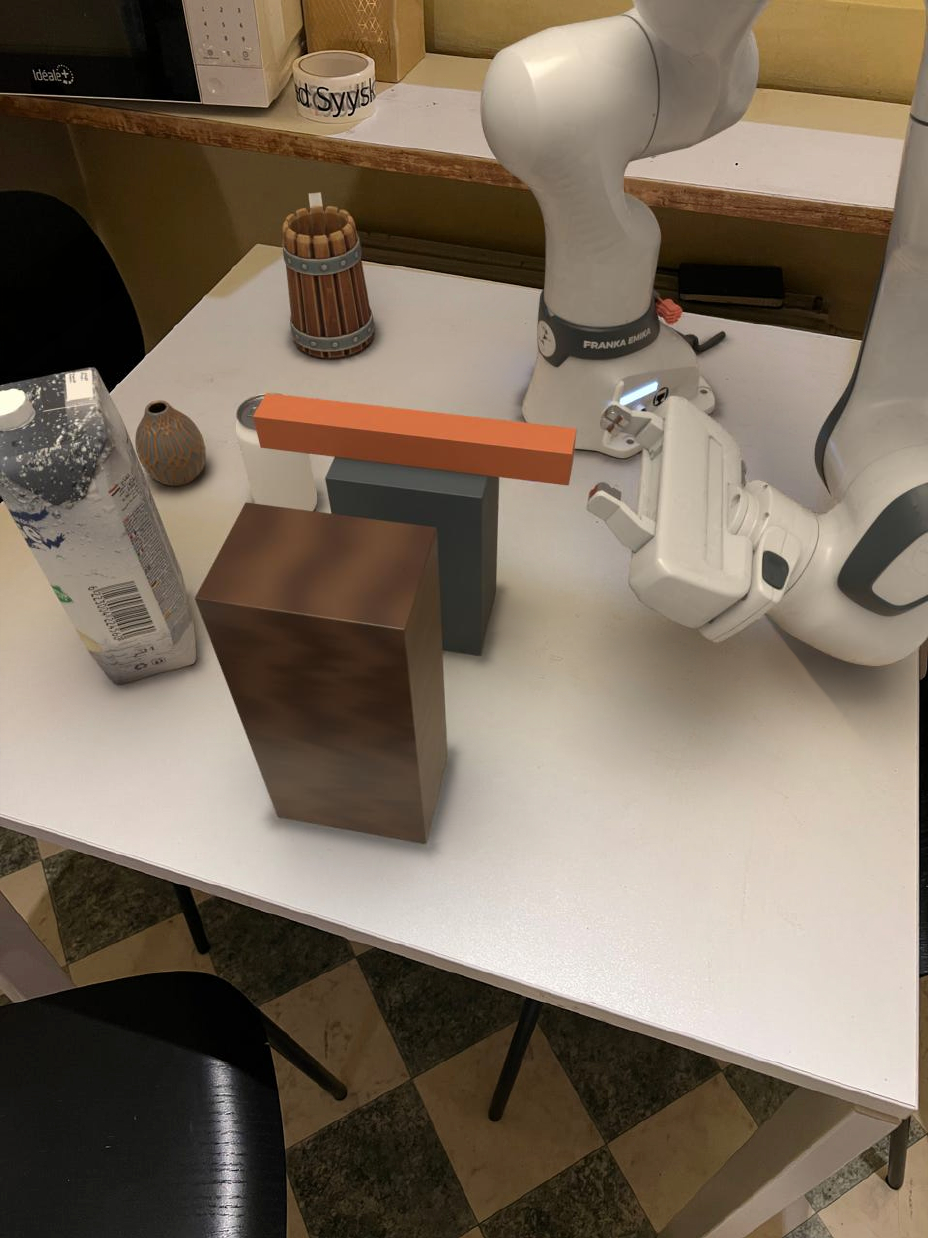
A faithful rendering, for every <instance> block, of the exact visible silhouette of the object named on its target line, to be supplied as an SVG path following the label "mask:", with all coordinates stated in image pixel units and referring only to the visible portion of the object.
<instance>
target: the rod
mask: <svg viewBox="0 0 928 1238" xmlns="http://www.w3.org/2000/svg"><path fill="white" fill-rule="evenodd" d="M265 393H266V395H265V396H264V398H263V400H262V401H261V403H260V405H259V407H258V408H257V410H256V412H255V414H254V415H253V419H254V423H255V427H256V431H257V435H258V439H259V443H260V447H261V448H267V449H275V450H283V451H291V452H299V453H307V454H310V455H315V456H325V457H332V458H334V457H340V458H348V459H356V460H364V461H372V462H381V463H389V464H397V465H405V466H413V467H421V468H429V469H437V470H446V471H454V472H462V473H470V474H478V475H486V476H494V477H499V478H503V479H504V478H505V479H511V480H518V481H519V480H520V481H528V482H537V483H543V484H544V483H545V484H553V485H559V486H570V480H571V474H572V470H573V464H574V457H575V450H576V449H575V440H576V431H577V429H576V428H568V427H559V426H551V425H542V424H533V423H527V422H523V421H517V420H516V421H514V420H508V419H507V420H505V419H499V418H498V419H496V418H490V417H480V416H472V415H471V416H470V415H464V414H463V415H462V414H453V413H444V412H436V411H428V410H419V409H418V410H417V409H409V408H402V407H401V408H400V407H392V406H385V405H384V406H383V405H375V404H367V403H366V404H365V403H357V402H348V401H340V400H330V399H322V398H314V397H304V396H295V395H288V394H282V395H279V394H280V393H277V394H270V393H271V392H265Z"/></svg>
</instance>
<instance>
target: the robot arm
mask: <svg viewBox="0 0 928 1238" xmlns="http://www.w3.org/2000/svg"><path fill="white" fill-rule="evenodd" d="M631 1H632V4H633V6H634V7H632V8H630V9H628V10H627V11H624V12H622V13H619V14H616V15H612V16H607V17H601V18H596V19H591V20H585V21H579V22H573V23H569V24H563V25H557V26H551V27H548V28H545V29H543V30H541V31H539V32H535V33H533V34H531V35H529V36H527V37H525V38H522V39H520V40H519V41H516V42H515V43H512V44H510V45H508V46H506V47H504V48H502V49H501V50H499V51H498V52H497V53H496V54H495V56H494V57H493V58H492V60H491V63H490V64H489V67H488V68H487V70H486V71H487V72H486V74H485V77H484V80H483V84H482V88H481V93H480V105H479V109H480V111H479V113H480V122H481V128H482V132H483V135H484V138H485V141H486V143H487V146H488V147H489V149H490V151H491V153H492V154H493V156H494V157H495V159H496V161H497V162H498V163H499V164H500V165H501V166H502V168H504V170H506V171H507V172H508V173H509V174H510V175H512V176H514V177H515V178H517V179H518V180H520V181H521V182H522V183H523V184H524V185H526V187H527V188H528V189H529V190H530V192H531V193H532V195H533V196H534V198H535V201H537V204H538V207H539V209H540V212H541V215H542V219H543V224H544V236H545V266H544V267H545V268H544V286H543V287H544V288H542V290H541V292H540V295H539V302H538V311H537V325H536V326H537V327H536V342H537V353H536V359H535V363H534V369H533V372H532V376H531V379H530V383H529V385H528V389H527V391H526V394H525V395H524V397H523V401H522V406H521V412H522V416H523V419H524V421H525V423H533V424H542V425H551V426H559V427H568V428H576V429H577V431H576V440H575V449H574V450H584V451H594V452H595V451H596V452H599V453H601V454H605V455H607V456H610V457H614V458H618V459H628V458H630V457H633V456H634V455H636V454H638V453H640V452H641V460H640V469H639V470H640V471H639V478H638V479H639V480H638V487H637V496H636V497H637V499H636V506H635V507H636V508H635V512H634V511H633V510H632V509H631V508H630V507H629V505H627V504H626V503H625V502H624V501H623V500H622V491H620V490H619V489H617V488H616V487H611V485H610V484H609V483H608V482H604V481H600V482H598V483H596V484H595V485H594V487H593V488H592V489H591V490H589V492H588V497H587V501H586V511H587V512H588V513H591V514H592V515H594V516H596V517H598V518H599V519H601V520H602V521H604V523H605V525H606V526H607V527H608V529H609V531H610V532H612V534H613V535H614V536H615V538H616V539H617V541H618V542H619V543H620V545H622V546H623V547H625V548H627V549H629V550H630V551H631V553H630V565H629V572H628V573H629V574H628V586H629V588H630V590H631V591H632V593H633V594H634V595H635V597H636V598H637V600H638V601H639V602H641V603H642V604H643V605H645V606H646V607H647V608H649V609H650V610H652V611H654V612H656V613H658V614H660V615H661V616H663V617H665V618H667V619H668V620H671V621H673V622H674V623H677V624H679V625H681V626H683V627H686V628H689V629H698V631H699V633H700V634H701V635H702V636H703V637H704V638H706V639H707V640H709V641H711V642H713V643H715V644H720V643H721V642H723V641H726V640H727V639H729V638H731V637H733V636H734V635H737V634H738V633H739V632H741V631H742V630H744V629H746V628H747V627H749V626H751V625H752V624H753V623H755V622H756V621H758V620H759V619H761V618H762V617H764V615H766V616H768V617H770V619H772V620H773V621H774V623H776V625H777V626H778V627H779V628H780V629H781V630H783V631H784V632H785V633H787V634H789V635H790V636H792V637H794V638H796V639H798V640H799V641H801V642H803V643H805V644H806V645H808V646H810V647H812V648H814V649H816V650H818V651H820V652H822V653H824V654H826V655H829V656H831V657H833V658H836V659H838V660H841V661H844V662H848V663H851V664H856V665H860V666H869V667H880V666H887V665H891V664H895V663H897V662H899V661H901V660H903V659H905V658H907V657H908V656H910V655H911V654H913V653H914V652H915V651H917V650H918V649H919V647H920V646H922V645H923V644H924V642H925V641H926V640H927V639H928V0H923V3H924V9H925V31H924V39H923V40H924V41H923V46H922V47H923V48H922V53H921V59H920V63H919V67H918V72H917V77H916V81H915V86H914V91H913V96H912V99H911V104H910V109H909V110H910V111H909V114H908V120H907V124H906V130H905V133H904V134H905V135H904V141H903V146H902V151H901V159H900V165H899V171H898V177H897V184H896V190H895V197H894V206H893V213H892V219H891V222H890V223H891V224H890V227H889V233H888V239H887V243H886V248H885V251H884V255H883V258H882V262H881V265H880V268H879V271H878V276H877V279H876V283H875V287H874V291H873V294H872V295H873V296H872V299H871V303H870V306H869V311H868V315H867V319H866V323H865V327H864V331H863V334H862V338H861V343H860V345H859V350H858V354H857V358H856V362H855V364H854V369H853V371H852V374H851V377H850V379H849V382H848V384H847V385H846V387H845V389H844V391H843V392H842V394H841V396H840V397H839V399H838V401H837V402H836V403H835V405H834V406H833V408H832V410H831V411H830V412H829V414H828V415H827V417H826V419H825V421H824V422H823V423H822V426H821V428H820V430H819V432H818V434H817V436H816V440H815V445H814V452H813V453H814V454H813V455H814V457H813V458H814V465H815V468H816V471H817V474H818V476H819V478H820V480H821V482H822V483H823V485H824V487H825V489H826V490H827V492H828V494H829V495H830V497H831V498H832V501H833V504H834V506H833V507H832V508H831V509H830V510H829V511H828V512H825V513H822V514H819V513H815V512H813V511H811V510H809V509H808V508H806V507H805V506H803V505H801V504H800V503H798V502H797V501H796V500H794V499H792V498H791V497H789V496H787V495H786V494H785V493H783V492H782V491H780V490H779V489H777V488H775V487H774V486H772V485H771V484H769V483H767V482H766V481H764V480H759V479H757V480H750V481H747V479H746V475H747V471H748V470H747V464H746V462H745V460H743V459H742V451H741V448H740V447H741V446H740V444H739V443H738V441H737V440H736V439H735V437H734V436H733V435H732V434H731V433H730V432H729V431H728V429H726V428H725V427H724V426H723V425H721V424H720V423H719V422H718V421H716V420H715V419H714V418H713V417H711V416H710V415H711V414H712V413H713V412H714V411H715V408H716V399H715V395H714V392H713V389H712V388H711V386H710V385H709V384H708V382H707V381H706V380H705V379H704V377H703V376H702V375H700V362H699V359H698V356H697V354H696V353H703V352H706V351H707V350H709V349H711V348H712V347H714V346H715V345H716V344H717V343H719V342H721V341H722V340H723V339H725V338H726V337H727V333H726V332H725V331H724V330H721V331H720V332H718V333H716V334H715V335H714V336H711V338H709V339H708V340H706V341H705V342H703V343H701V344H699V343H700V341H699V337H698V336H697V335H695V334H692V333H689V334H684V333H682V332H680V331H679V330H676V329H675V328H673V327H671V326H669V325H674V324H677V323H678V322H679V320H680V319H681V318H682V315H683V308H682V307H681V306H680V305H679V304H676V303H674V301H673V300H672V299H671V298H666V299H664V300H663V299H662V298H660V297H661V294H660V293H659V292H658V291H657V290H655V289H654V286H655V285H654V284H655V279H656V272H657V267H658V263H659V255H660V250H661V243H662V233H661V229H660V225H659V222H658V220H657V218H656V216H655V214H654V212H653V211H652V210H651V208H650V207H649V206H648V205H647V204H646V203H645V202H643V201H642V200H640V199H639V198H637V197H636V196H634V195H632V194H630V193H628V192H625V190H624V189H625V188H624V187H625V185H624V180H625V175H626V170H627V168H628V165H629V164H630V163H632V162H634V161H639V160H642V159H643V160H644V159H647V158H652V157H656V156H660V155H665V154H669V153H672V152H673V153H674V152H677V151H681V150H685V149H689V148H692V147H694V146H696V145H698V144H701V143H703V142H704V141H707V140H709V139H711V138H713V137H715V136H717V135H719V134H720V133H722V132H724V131H726V130H727V129H730V128H731V127H733V126H735V125H736V124H737V123H738V122H740V120H742V118H743V117H744V115H745V114H746V112H747V111H748V109H749V107H750V105H751V102H752V100H753V98H754V95H755V93H756V90H757V85H758V80H759V73H760V72H759V71H760V55H759V54H760V53H759V47H758V42H757V39H756V35H755V33H754V31H753V29H754V27H755V25H756V24H757V22H758V20H759V18H760V17H761V16H762V14H764V11H765V10H766V9H767V7H768V6H769V4H770V3H771V2H772V0H631ZM660 318H662V319H663V320H664V321H665V322H663V321H661V320H660Z"/></svg>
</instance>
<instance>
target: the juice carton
mask: <svg viewBox="0 0 928 1238" xmlns="http://www.w3.org/2000/svg"><path fill="white" fill-rule="evenodd" d="M0 497H1V499H2V501H3V503H4V504H5V506H6V509H7V510H8V512H9V514H10V516H11V518H12V519H13V521H14V523H15V525H16V526H17V528H18V530H19V532H20V534H21V535H22V537H23V539H24V541H25V542H26V544H27V546H28V548H29V549H30V551H31V553H32V555H33V557H34V558H35V560H36V562H37V564H38V565H39V567H40V569H41V570H42V573H43V574H44V576H45V578H46V580H47V581H48V583H49V585H50V586H51V588H52V591H53V592H54V594H55V596H56V597H57V599H58V601H59V602H60V604H61V606H62V609H64V612H65V613H66V615H67V617H68V619H69V620H70V622H71V624H72V625H73V627H74V629H75V631H76V633H77V634H78V636H79V639H80V640H81V641H82V643H83V644H84V646H85V648H86V650H87V651H88V653H89V654H90V656H91V657H92V659H93V660H94V661H95V663H96V664H97V665H98V666H99V668H100V669H101V670H102V672H103V673H104V674H105V675H106V676H107V677H108V679H109V680H110V681H111V682H112V683H113V684H115V685H124V684H128V683H132V682H135V681H138V680H141V679H144V678H148V677H151V676H154V675H158V674H161V673H165V672H169V671H173V670H177V669H181V668H184V667H188V666H191V665H193V664H195V663H196V661H197V645H196V633H195V625H194V620H193V617H192V613H191V609H190V606H189V603H188V599H187V590H186V583H185V579H184V576H183V573H182V570H181V568H180V567H181V566H180V564H179V562H178V559H177V557H176V553H175V551H174V547H173V546H172V543H171V541H170V539H169V536H168V533H167V530H166V527H165V524H164V522H163V520H162V517H161V515H160V512H159V509H158V507H157V504H156V502H155V499H154V497H153V494H152V492H151V488H150V486H149V484H148V481H147V479H146V476H145V473H144V471H143V467H142V464H141V462H140V460H139V458H138V455H137V452H136V449H135V447H134V444H133V442H132V440H131V437H130V434H129V432H128V430H127V427H126V425H125V423H124V419H123V418H122V416H121V414H120V412H119V409H118V408H117V406H116V404H115V402H114V400H113V398H112V397H111V394H110V392H109V390H108V388H107V387H106V385H105V382H104V381H103V379H102V377H101V375H100V373H99V371H98V370H97V369H96V367H92V366H91V367H84V368H79V369H74V370H68V371H65V372H60V373H59V372H58V373H53V374H49V375H45V376H40V377H35V378H29V379H25V380H20V381H14V382H10V383H6V384H1V385H0Z"/></svg>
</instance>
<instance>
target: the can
mask: <svg viewBox="0 0 928 1238" xmlns="http://www.w3.org/2000/svg"><path fill="white" fill-rule="evenodd" d="M266 393H267V392H265V393H260V394H256V395H253V396H251V397H248V398H247V399H245V400H244V401H243V402H241V403H240V404H239V406H238V408H237V410H236V419H237V420H236V422H235V433H236V437H237V441H238V445H239V449H240V453H241V457H242V460H243V461H242V462H243V464H244V468H245V472H246V475H247V480H248V484H249V487H250V491H251V494H252V495H251V496H252V499H253V502H254V503H255V504H262V505H270V506H277V507H285V508H292V509H300V510H307V511H314V510H315V509H316V507H317V505H318V491H317V486H316V482H315V476H314V470H313V464H312V459H311V454H307V453H299V452H291V451H283V450H275V449H267V448H261V447H260V443H259V439H258V435H257V431H256V427H255V423H254V419H253V415H254V414H255V412H256V410H257V408H258V407H259V405H260V403H261V401H262V400H263V398H264V396H265V395H266ZM269 393H270V394H279V395H283V394H282V393H276V392H269Z"/></svg>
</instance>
